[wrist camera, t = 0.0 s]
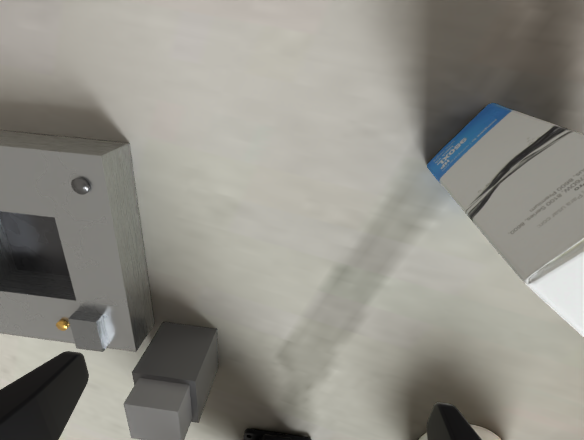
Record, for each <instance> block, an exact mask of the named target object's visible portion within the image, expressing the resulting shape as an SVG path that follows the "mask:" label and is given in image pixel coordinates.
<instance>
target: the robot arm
mask: <svg viewBox="0 0 584 440" xmlns="http://www.w3.org/2000/svg"><path fill="white" fill-rule="evenodd" d="M88 377H89V374H88V370H87V366H86V363H85V359H84V356H83V355H82V354H81V353H78V352H70V351H67V352H63V353H61V354H60V355H58V356H56V357H55V358H53V359H51V360H50V361H48V362H46V363H44V364H43V365H41V366H39V367H38V368H36V369H34V370H33V371H31V372H29V373H28V374H26V375H24V376H23V377H21V378H19V379H18V380H16V381H14V382H13V383H11V384H9V385H8V386H6V387H4V388H3V389H1V390H0V440H58V439H59V438H60V436H61V434H62V432H63V430H64V428H65V426H66V424H67V422H68V420H69V418H70V416H71V414H72V412H73V410H74V408H75V406H76V404H77V402H78V400H79V398H80V396H81V394H82V392H83V390H84V388H85V387H86V384H87V382H88ZM427 439H428V440H482V439H481V438H480V437H479V435H478V434H477V433H476V432H475V430H474V429H473V428H472V427H471V425H470V424H469V423H468V422H467V420H466V419H465V418H464V417H463V415H462V414H461V413H460V412H459V410H458V409H457V408H456V407H455V406H454V405H452V404H447V403H439V402H437V403H436V404H435V405H434V407H433V409H432V412H431V414H430V417H429V420H428V422H427ZM244 440H311V439H310V438H307V437H300V436H293V435H287V434H280V433H273V432H266V431H260V430H253V429H246V430H245V433H244Z"/></svg>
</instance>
